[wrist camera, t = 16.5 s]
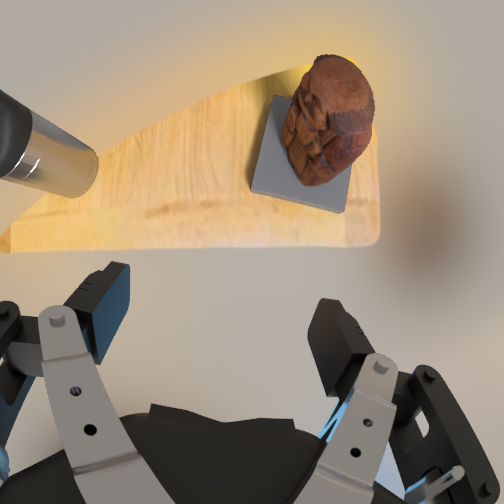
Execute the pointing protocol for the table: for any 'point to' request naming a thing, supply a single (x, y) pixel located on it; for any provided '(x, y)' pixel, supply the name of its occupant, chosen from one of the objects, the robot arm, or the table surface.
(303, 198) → the base
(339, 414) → the robot arm
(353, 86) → the wooden figurine
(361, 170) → the table surface
